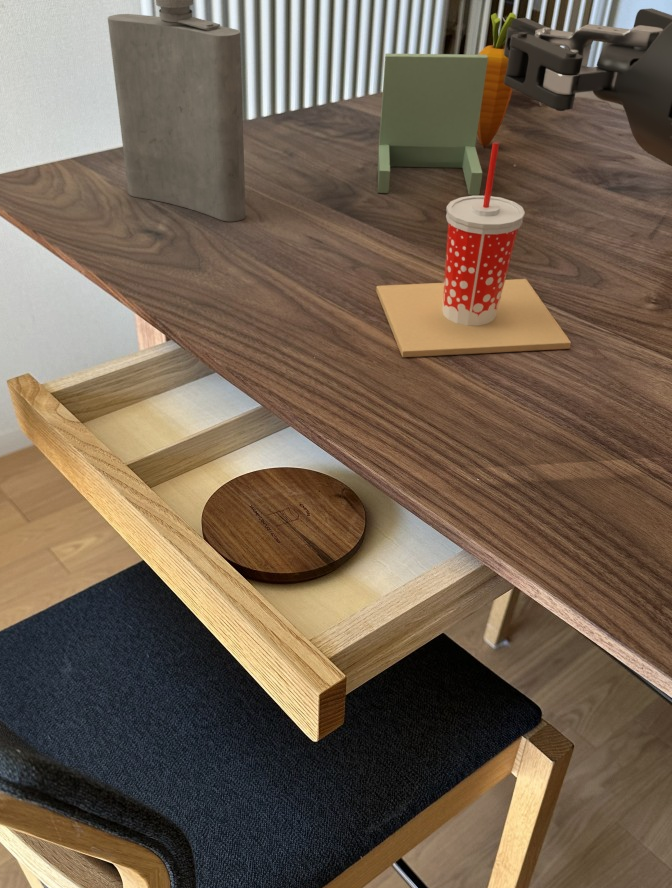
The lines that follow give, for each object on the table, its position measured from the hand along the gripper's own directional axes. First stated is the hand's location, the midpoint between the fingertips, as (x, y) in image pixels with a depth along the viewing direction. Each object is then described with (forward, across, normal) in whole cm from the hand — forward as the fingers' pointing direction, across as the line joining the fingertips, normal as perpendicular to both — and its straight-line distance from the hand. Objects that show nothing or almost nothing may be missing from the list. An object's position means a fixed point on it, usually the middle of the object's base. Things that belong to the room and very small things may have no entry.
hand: (576, 32), depth 53 cm
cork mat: (+8, 0, +24) cm, 25 cm away
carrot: (+50, -22, +24) cm, 59 cm away
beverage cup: (+8, 0, +23) cm, 24 cm away
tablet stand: (+41, -10, +24) cm, 48 cm away
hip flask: (+42, +18, +24) cm, 51 cm away
